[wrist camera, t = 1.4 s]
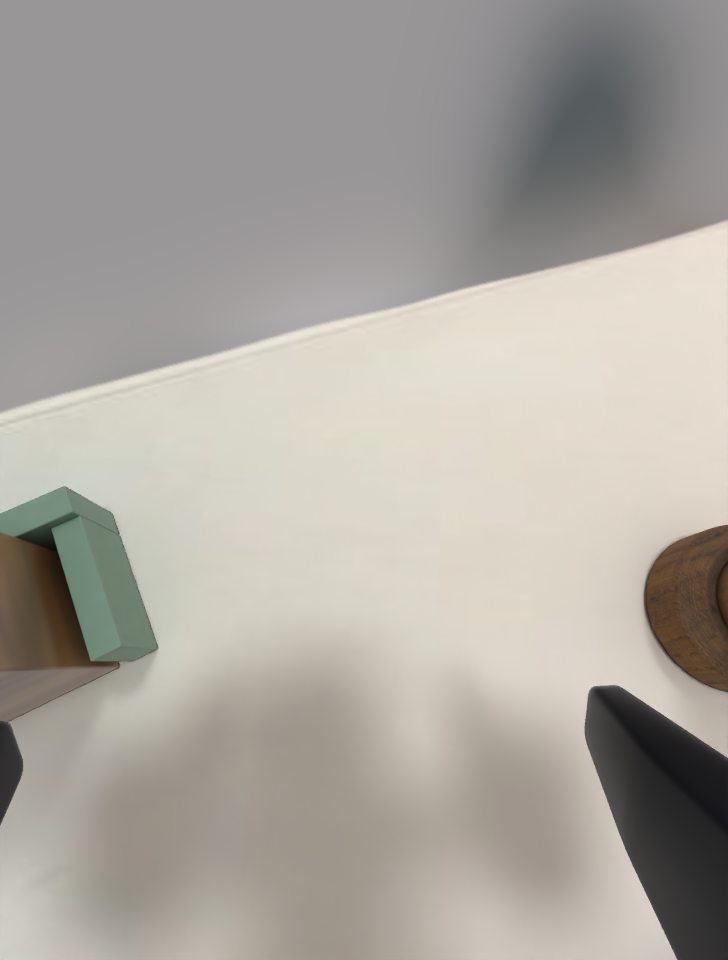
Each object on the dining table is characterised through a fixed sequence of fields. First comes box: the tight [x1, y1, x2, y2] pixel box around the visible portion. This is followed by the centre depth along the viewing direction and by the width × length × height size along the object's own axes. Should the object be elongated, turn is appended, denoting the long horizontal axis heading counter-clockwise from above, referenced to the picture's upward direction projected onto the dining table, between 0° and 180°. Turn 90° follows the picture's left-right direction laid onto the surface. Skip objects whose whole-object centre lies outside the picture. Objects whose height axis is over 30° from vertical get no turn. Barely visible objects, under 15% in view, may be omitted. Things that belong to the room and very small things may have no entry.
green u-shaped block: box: [0, 486, 158, 661], centre depth 21 cm, size 7×9×4 cm
